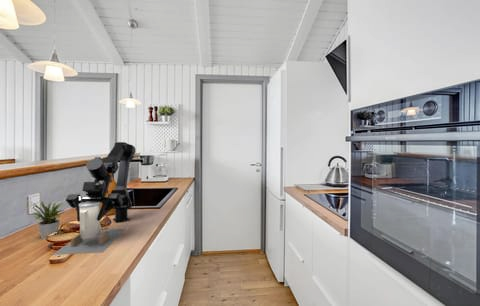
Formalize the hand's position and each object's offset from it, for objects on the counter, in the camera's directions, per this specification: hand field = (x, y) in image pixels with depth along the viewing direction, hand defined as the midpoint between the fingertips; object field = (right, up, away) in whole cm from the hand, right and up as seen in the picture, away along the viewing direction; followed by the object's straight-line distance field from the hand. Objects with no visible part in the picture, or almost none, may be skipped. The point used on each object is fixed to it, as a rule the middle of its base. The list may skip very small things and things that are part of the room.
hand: (88, 220), depth 90 cm
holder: (-1, -10, +5) cm, 11 cm away
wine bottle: (-16, -9, +45) cm, 49 cm away
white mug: (0, -6, +2) cm, 6 cm away
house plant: (-23, -10, +10) cm, 27 cm away
